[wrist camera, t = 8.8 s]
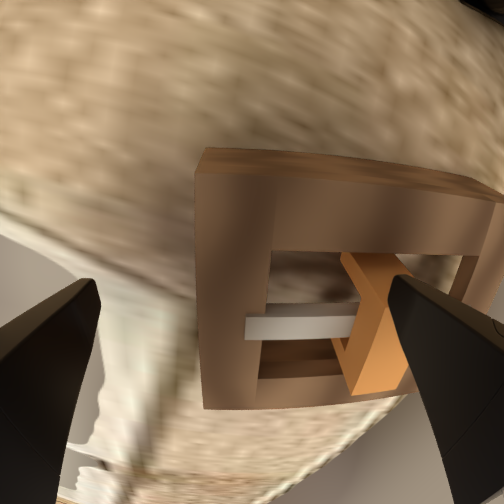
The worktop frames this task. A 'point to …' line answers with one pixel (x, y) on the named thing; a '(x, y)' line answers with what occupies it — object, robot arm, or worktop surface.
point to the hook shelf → (320, 240)
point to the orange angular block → (372, 326)
